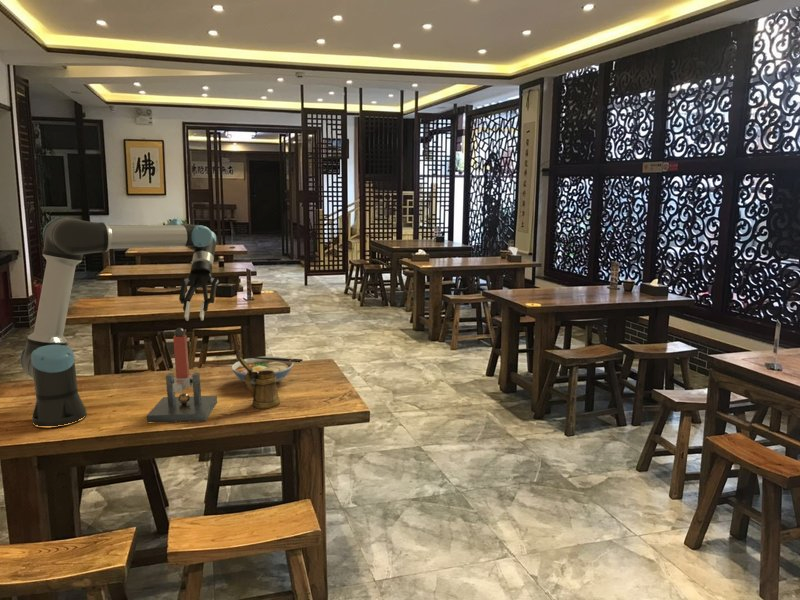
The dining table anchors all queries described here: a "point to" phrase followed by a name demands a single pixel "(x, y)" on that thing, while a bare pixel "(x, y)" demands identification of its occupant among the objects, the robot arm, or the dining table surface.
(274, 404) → the wooden mug
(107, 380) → the dining table surface
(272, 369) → the ramen bowl
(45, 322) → the robot arm
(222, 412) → the dining table surface
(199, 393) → the stand
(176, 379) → the lever
